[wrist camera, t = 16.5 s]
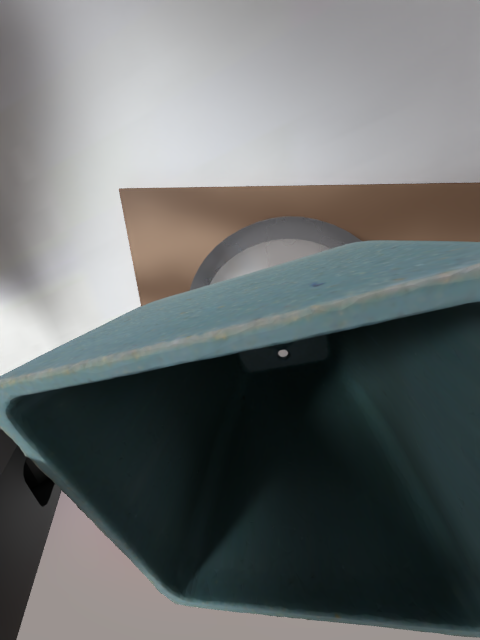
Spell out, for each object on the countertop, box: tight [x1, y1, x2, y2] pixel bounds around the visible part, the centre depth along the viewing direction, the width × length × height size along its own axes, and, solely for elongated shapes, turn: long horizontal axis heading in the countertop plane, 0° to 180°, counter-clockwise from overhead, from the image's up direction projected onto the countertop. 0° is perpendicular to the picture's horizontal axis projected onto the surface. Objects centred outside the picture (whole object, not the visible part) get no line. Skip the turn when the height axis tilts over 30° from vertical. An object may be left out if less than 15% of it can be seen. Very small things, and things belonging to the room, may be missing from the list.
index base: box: [119, 183, 480, 306], centre depth 15 cm, size 15×21×5 cm
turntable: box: [190, 216, 361, 357], centre depth 12 cm, size 14×13×9 cm
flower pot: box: [0, 240, 480, 637], centre depth 9 cm, size 9×9×9 cm
